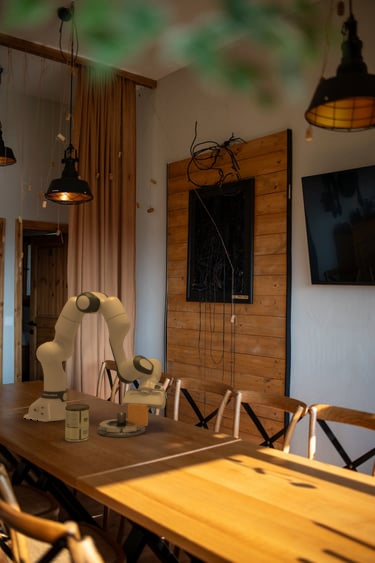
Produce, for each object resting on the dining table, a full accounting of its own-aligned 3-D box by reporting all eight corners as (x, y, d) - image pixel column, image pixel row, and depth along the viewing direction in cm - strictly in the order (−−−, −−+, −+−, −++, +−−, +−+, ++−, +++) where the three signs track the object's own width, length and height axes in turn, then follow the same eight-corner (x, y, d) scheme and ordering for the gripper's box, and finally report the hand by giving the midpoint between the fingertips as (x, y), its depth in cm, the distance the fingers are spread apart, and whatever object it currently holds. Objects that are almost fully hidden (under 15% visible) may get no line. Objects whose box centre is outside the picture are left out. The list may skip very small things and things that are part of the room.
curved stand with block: (93, 430, 241) (93, 406, 241) (110, 421, 259) (110, 398, 260) (139, 434, 235) (140, 409, 236) (153, 424, 254) (154, 401, 254)
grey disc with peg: (88, 435, 240) (88, 416, 241) (109, 424, 261) (109, 406, 262) (134, 439, 234) (134, 419, 234) (152, 428, 255) (152, 409, 255)
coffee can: (69, 435, 240) (69, 403, 240) (91, 436, 239) (92, 404, 239) (61, 441, 230) (62, 408, 230) (85, 442, 229) (85, 408, 229)
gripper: (125, 384, 258) (117, 409, 248) (166, 386, 252) (159, 412, 243) (128, 392, 262) (121, 417, 252) (169, 394, 256) (162, 420, 247)
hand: (140, 414), depth 247 cm, fingers closed, pressing on curved stand with block
